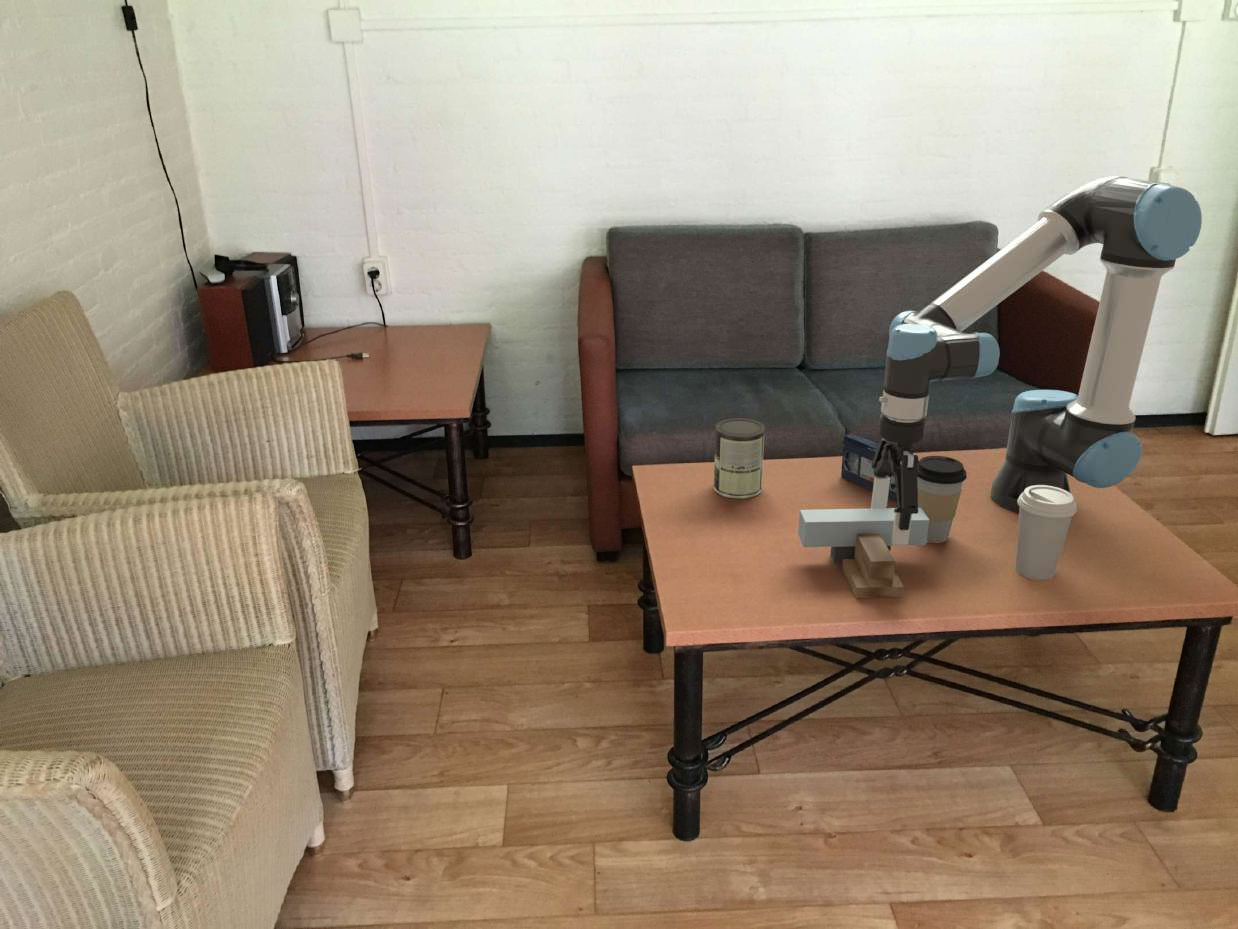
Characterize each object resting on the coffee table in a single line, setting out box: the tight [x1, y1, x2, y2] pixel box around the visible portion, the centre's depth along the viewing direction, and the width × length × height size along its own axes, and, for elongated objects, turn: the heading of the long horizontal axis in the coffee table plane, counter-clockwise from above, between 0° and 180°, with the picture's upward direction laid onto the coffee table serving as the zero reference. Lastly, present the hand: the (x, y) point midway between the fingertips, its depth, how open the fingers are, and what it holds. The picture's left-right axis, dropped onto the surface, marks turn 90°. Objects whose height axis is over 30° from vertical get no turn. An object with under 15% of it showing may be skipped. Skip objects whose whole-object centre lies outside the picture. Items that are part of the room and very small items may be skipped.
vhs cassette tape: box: [840, 433, 920, 503], centre depth 204 cm, size 18×3×10 cm, turn 33°
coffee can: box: [713, 417, 766, 500], centre depth 204 cm, size 10×10×14 cm
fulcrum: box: [841, 534, 905, 599], centre depth 169 cm, size 8×10×7 cm
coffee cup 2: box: [1015, 485, 1078, 581], centre depth 171 cm, size 10×10×15 cm
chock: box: [829, 546, 892, 565], centre depth 178 cm, size 10×3×4 cm, turn 91°
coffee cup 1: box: [917, 455, 968, 544], centre depth 184 cm, size 9×9×15 cm
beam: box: [797, 507, 929, 548], centre depth 176 cm, size 22×5×5 cm, turn 91°
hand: (888, 526), depth 176 cm, fingers open, 13 cm apart
